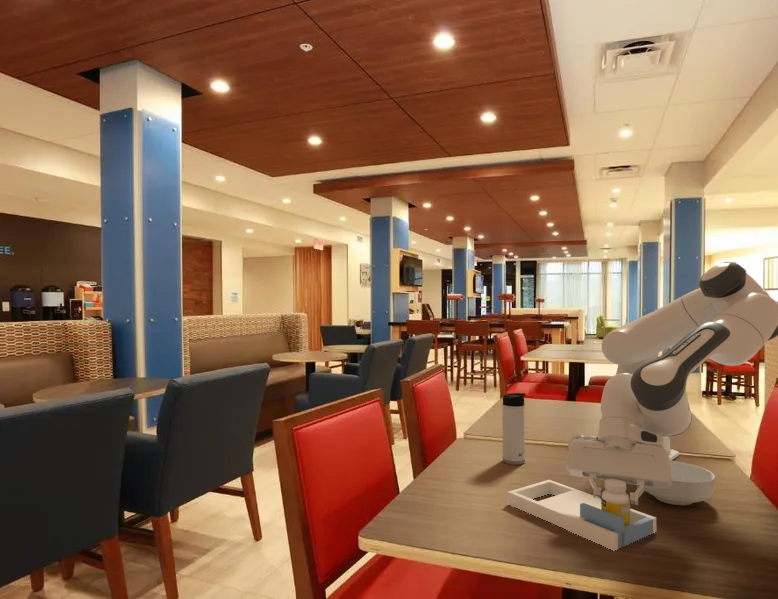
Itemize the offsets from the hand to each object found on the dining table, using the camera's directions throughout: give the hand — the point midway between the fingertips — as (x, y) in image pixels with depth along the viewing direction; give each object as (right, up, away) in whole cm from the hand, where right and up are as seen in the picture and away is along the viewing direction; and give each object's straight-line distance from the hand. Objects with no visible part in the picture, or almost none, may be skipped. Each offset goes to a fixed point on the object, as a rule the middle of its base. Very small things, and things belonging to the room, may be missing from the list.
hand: (615, 500), depth 106 cm
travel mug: (-9, -7, +47) cm, 49 cm away
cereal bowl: (+22, -7, +19) cm, 30 cm away
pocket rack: (-5, -7, +8) cm, 12 cm away
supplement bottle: (0, -7, +1) cm, 7 cm away
